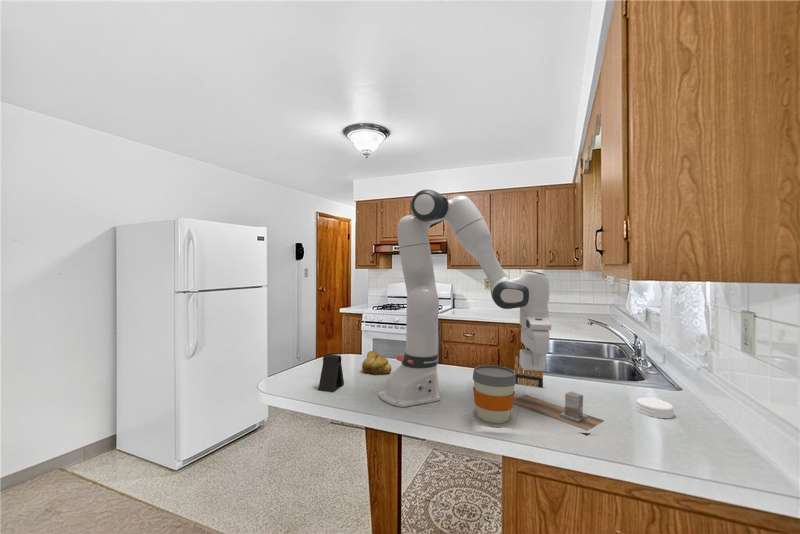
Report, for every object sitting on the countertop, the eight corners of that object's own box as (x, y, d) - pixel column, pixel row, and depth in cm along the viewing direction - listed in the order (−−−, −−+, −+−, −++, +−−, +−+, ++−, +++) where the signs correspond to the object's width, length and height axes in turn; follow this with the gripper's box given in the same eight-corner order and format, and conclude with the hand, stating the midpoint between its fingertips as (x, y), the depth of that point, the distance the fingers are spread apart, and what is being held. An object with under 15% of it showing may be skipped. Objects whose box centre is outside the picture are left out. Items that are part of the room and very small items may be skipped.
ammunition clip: (543, 390, 138) (544, 358, 138) (542, 391, 136) (543, 359, 136) (513, 385, 142) (514, 355, 142) (512, 387, 141) (513, 356, 141)
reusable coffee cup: (509, 434, 101) (511, 380, 101) (465, 423, 107) (467, 372, 107) (518, 418, 112) (520, 369, 112) (478, 409, 118) (479, 362, 118)
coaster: (628, 409, 122) (629, 398, 122) (649, 405, 126) (649, 395, 126) (659, 421, 113) (659, 410, 113) (680, 417, 117) (681, 406, 117)
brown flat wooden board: (587, 435, 101) (588, 405, 101) (506, 405, 122) (507, 380, 121) (604, 425, 108) (605, 396, 108) (525, 398, 128) (526, 374, 128)
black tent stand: (333, 392, 130) (334, 358, 130) (318, 390, 131) (318, 357, 131) (344, 384, 138) (345, 353, 138) (329, 382, 140) (330, 351, 140)
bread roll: (395, 372, 156) (396, 353, 156) (382, 378, 148) (383, 358, 148) (370, 367, 163) (371, 349, 163) (357, 372, 155) (357, 353, 155)
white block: (545, 371, 117) (545, 353, 117) (523, 369, 118) (524, 352, 118) (539, 365, 124) (540, 348, 124) (519, 364, 124) (519, 347, 124)
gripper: (517, 315, 131) (515, 354, 131) (531, 324, 111) (530, 370, 111) (535, 316, 130) (533, 355, 131) (553, 325, 110) (551, 371, 110)
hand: (532, 362), depth 121 cm, fingers closed on white block, 7 cm apart
